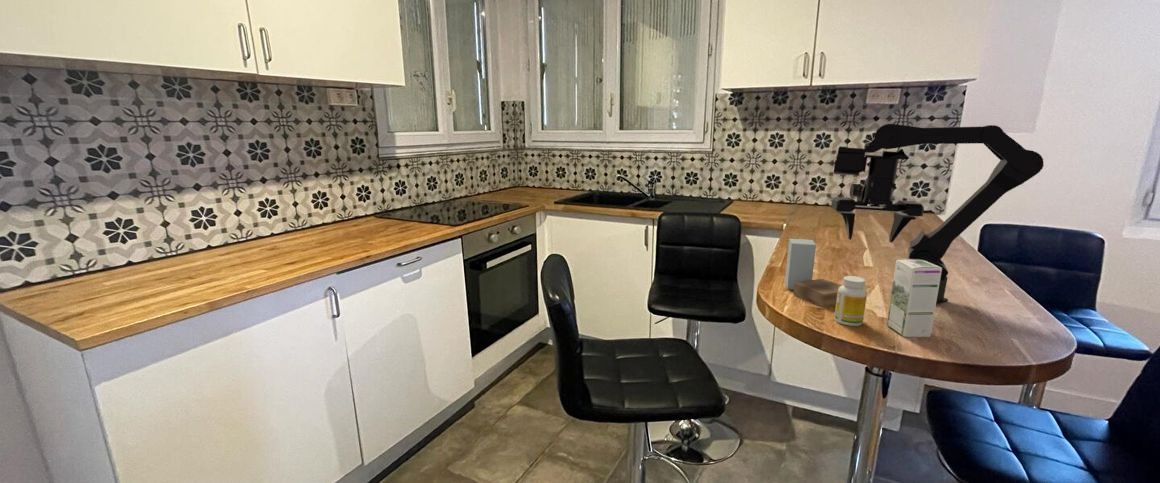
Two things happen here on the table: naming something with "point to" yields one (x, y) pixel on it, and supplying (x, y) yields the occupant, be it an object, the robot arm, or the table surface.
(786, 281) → the slate pillar
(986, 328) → the table surface
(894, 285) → the syrup box
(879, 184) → the robot arm
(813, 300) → the walnut block
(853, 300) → the supplement bottle
